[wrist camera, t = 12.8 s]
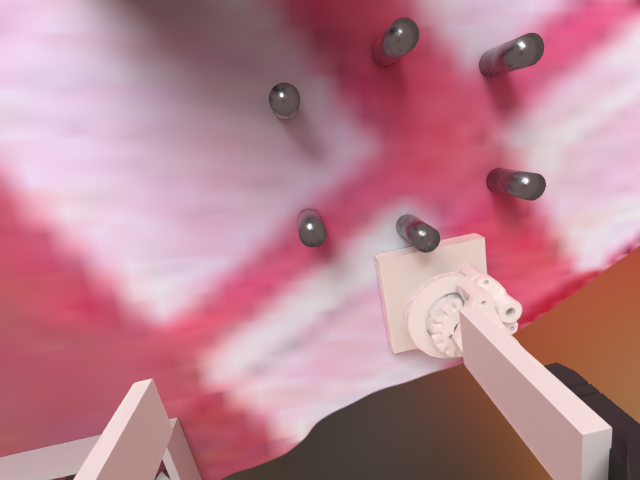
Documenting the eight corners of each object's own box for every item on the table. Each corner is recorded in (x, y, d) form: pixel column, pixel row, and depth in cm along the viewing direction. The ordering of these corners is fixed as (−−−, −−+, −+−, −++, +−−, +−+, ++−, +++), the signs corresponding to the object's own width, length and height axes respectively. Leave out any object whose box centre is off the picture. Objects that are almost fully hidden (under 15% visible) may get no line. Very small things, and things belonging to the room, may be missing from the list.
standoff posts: (262, 61, 40) (257, 46, 34) (501, 14, 41) (543, -11, 34) (305, 258, 47) (308, 278, 40) (510, 214, 48) (546, 226, 41)
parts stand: (373, 254, 48) (378, 260, 45) (474, 232, 48) (484, 237, 46) (388, 343, 52) (393, 354, 49) (481, 323, 52) (490, 332, 50)
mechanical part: (380, 290, 47) (409, 340, 35) (459, 239, 46) (516, 273, 34) (421, 351, 50) (460, 414, 38) (496, 304, 49) (559, 355, 37)
